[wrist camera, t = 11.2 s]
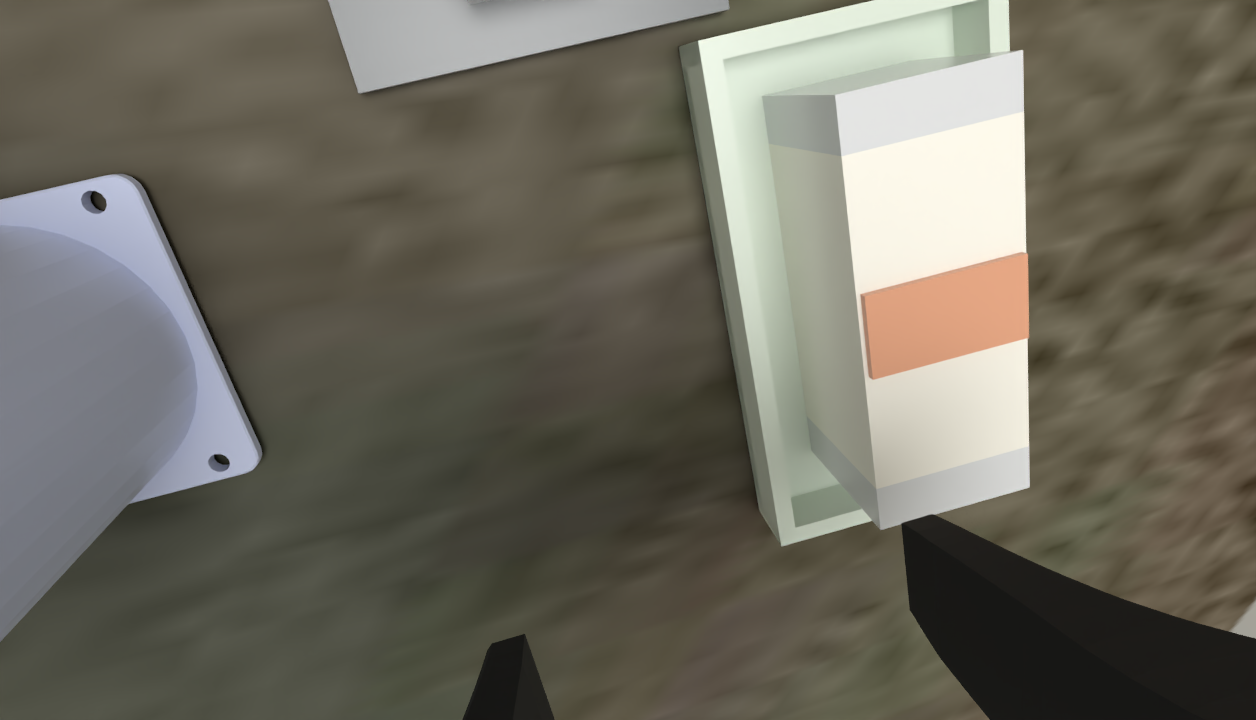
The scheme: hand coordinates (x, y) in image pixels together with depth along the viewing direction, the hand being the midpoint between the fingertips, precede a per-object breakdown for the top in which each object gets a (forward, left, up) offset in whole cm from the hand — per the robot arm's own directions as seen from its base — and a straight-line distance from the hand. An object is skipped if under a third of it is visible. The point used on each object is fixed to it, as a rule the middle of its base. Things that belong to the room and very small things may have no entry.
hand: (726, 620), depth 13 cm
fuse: (+7, +3, -8) cm, 11 cm away
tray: (+7, +3, -9) cm, 11 cm away
